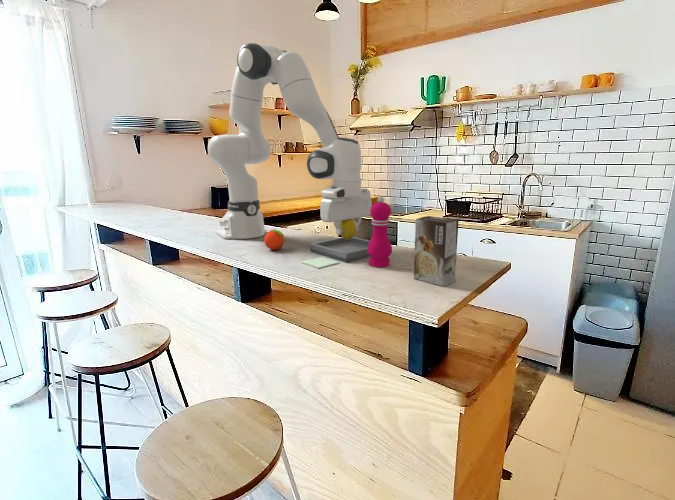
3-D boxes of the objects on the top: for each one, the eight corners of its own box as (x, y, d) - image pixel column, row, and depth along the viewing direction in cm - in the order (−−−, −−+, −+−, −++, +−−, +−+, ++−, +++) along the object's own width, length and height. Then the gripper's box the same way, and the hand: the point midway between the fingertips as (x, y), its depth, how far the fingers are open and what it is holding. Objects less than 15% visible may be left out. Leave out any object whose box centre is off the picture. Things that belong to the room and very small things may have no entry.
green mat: (301, 262, 114) (301, 261, 113) (322, 257, 119) (322, 256, 119) (318, 268, 108) (318, 267, 108) (339, 263, 113) (339, 262, 113)
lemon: (356, 242, 122) (356, 217, 120) (339, 242, 122) (338, 218, 120) (355, 238, 128) (354, 215, 126) (338, 238, 128) (338, 215, 125)
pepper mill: (373, 259, 116) (374, 194, 111) (395, 263, 113) (397, 196, 108) (363, 265, 110) (363, 197, 105) (385, 269, 107) (387, 198, 102)
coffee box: (456, 280, 97) (460, 219, 93) (443, 287, 92) (447, 222, 88) (425, 273, 103) (428, 215, 99) (411, 278, 99) (414, 218, 95)
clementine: (291, 249, 129) (290, 229, 127) (275, 253, 124) (273, 232, 122) (276, 246, 134) (275, 226, 133) (260, 249, 129) (259, 229, 128)
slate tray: (309, 251, 127) (309, 243, 126) (348, 243, 138) (348, 235, 137) (346, 262, 114) (346, 254, 113) (385, 252, 125) (385, 244, 124)
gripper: (363, 187, 130) (362, 226, 133) (316, 191, 116) (317, 235, 120) (376, 188, 125) (376, 229, 128) (330, 193, 112) (330, 238, 115)
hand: (347, 232), depth 124 cm, fingers closed on lemon, 5 cm apart
